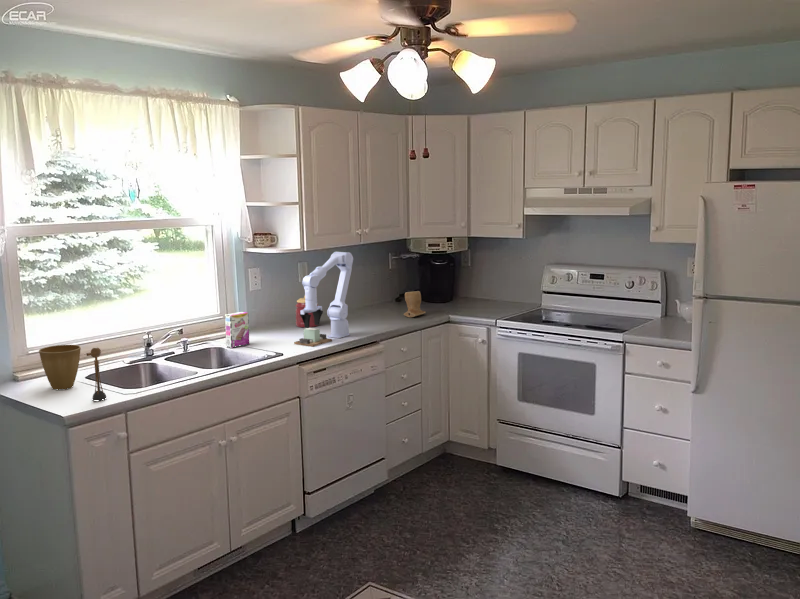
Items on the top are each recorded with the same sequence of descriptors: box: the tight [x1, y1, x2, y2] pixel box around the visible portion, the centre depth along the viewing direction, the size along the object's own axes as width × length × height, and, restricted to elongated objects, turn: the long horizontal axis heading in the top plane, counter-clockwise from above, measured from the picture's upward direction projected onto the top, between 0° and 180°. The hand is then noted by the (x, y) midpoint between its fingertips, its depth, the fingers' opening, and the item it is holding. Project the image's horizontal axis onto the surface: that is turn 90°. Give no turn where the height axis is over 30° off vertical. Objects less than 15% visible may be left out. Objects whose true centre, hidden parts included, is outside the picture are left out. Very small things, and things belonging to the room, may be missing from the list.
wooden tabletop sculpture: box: [86, 346, 107, 401], centre depth 264 cm, size 6×5×20 cm
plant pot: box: [38, 344, 82, 391], centre depth 282 cm, size 15×15×16 cm
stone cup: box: [403, 290, 426, 318], centre depth 426 cm, size 15×12×15 cm
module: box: [303, 327, 321, 342], centre depth 357 cm, size 4×7×6 cm, turn 58°
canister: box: [294, 295, 319, 328], centre depth 401 cm, size 13×13×18 cm
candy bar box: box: [224, 311, 250, 349], centre depth 352 cm, size 11×5×16 cm, turn 141°
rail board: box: [293, 333, 333, 347], centre depth 358 cm, size 15×12×3 cm
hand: (312, 326), depth 357 cm, fingers open, 7 cm apart
